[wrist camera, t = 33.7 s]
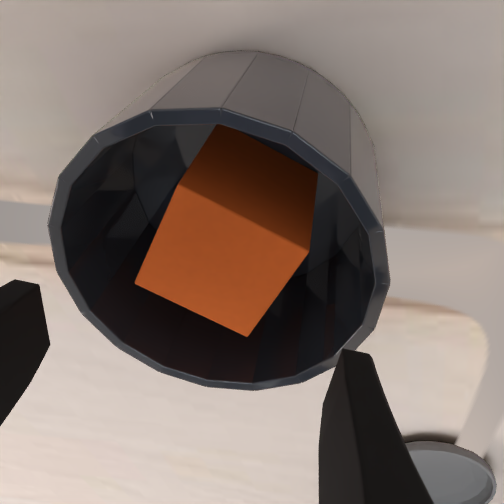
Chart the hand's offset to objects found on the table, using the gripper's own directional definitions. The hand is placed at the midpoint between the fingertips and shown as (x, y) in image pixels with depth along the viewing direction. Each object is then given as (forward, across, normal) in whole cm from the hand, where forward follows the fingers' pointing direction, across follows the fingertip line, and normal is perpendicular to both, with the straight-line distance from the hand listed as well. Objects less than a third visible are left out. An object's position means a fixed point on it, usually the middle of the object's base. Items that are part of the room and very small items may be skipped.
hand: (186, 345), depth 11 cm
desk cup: (+9, 0, 0) cm, 9 cm away
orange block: (+8, 0, 0) cm, 8 cm away
